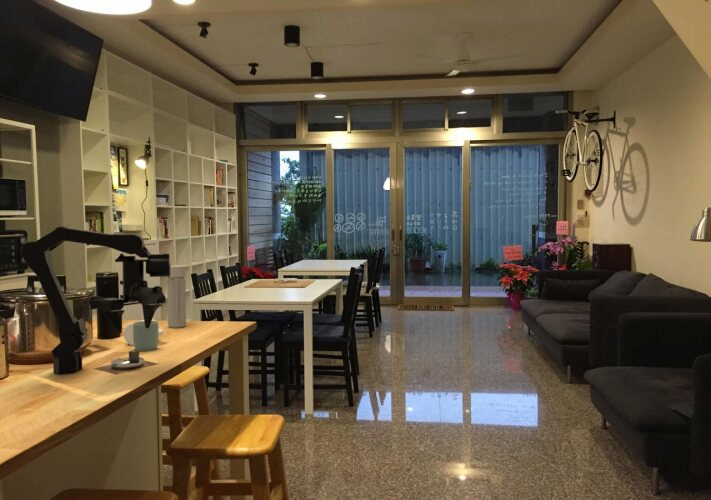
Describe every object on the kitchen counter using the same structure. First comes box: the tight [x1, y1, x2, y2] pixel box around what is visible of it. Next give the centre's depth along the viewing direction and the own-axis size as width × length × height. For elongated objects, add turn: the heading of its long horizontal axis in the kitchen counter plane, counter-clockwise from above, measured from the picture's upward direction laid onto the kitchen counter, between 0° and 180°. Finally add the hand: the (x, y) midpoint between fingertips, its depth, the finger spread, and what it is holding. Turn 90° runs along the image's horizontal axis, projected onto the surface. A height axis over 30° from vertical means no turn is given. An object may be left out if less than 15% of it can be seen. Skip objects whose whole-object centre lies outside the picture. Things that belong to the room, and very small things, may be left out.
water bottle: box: [165, 265, 187, 329], centre depth 230 cm, size 9×8×25 cm
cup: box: [132, 320, 159, 352], centre depth 187 cm, size 8×8×10 cm
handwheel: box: [110, 349, 145, 369], centre depth 164 cm, size 9×9×4 cm
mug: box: [123, 318, 164, 347], centre depth 201 cm, size 12×10×8 cm
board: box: [93, 359, 159, 375], centre depth 165 cm, size 14×11×1 cm
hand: (133, 330), depth 163 cm, fingers open, 9 cm apart
